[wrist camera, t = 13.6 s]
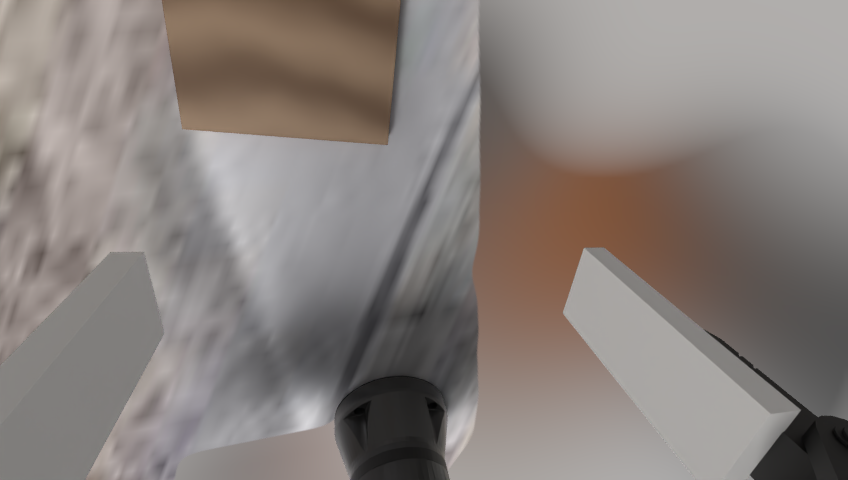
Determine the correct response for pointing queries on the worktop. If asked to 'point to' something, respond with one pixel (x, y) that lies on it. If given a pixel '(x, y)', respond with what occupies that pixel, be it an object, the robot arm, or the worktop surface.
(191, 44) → the board
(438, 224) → the worktop surface
